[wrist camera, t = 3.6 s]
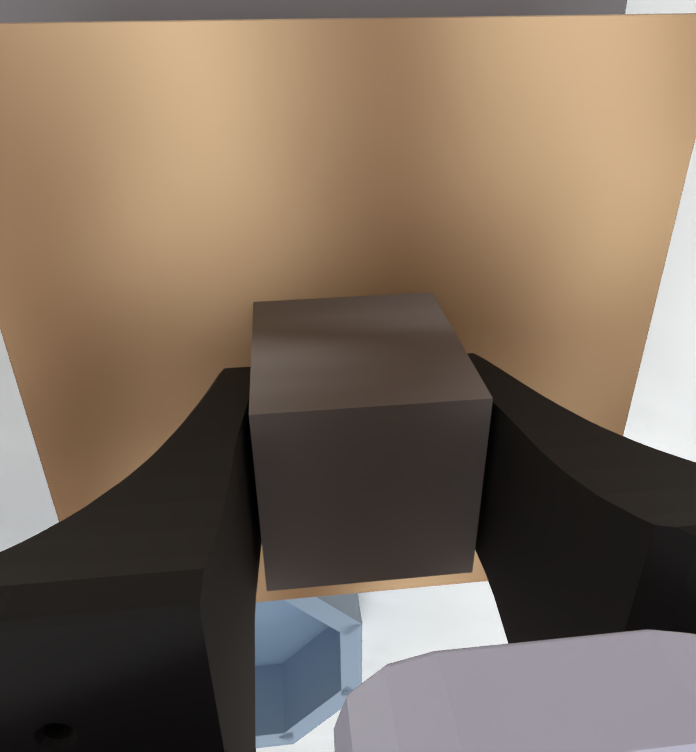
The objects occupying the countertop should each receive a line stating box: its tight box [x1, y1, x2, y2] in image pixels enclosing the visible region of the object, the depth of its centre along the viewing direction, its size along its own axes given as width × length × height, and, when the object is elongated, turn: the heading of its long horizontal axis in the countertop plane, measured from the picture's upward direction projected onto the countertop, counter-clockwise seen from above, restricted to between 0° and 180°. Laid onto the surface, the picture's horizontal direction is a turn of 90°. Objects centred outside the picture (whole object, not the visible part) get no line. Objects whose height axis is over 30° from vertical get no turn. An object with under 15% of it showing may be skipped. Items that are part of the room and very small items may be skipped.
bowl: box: [255, 593, 362, 748], centre depth 26 cm, size 10×10×4 cm
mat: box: [0, 0, 627, 23], centre depth 20 cm, size 17×17×1 cm
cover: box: [0, 13, 696, 602], centre depth 12 cm, size 13×13×5 cm
